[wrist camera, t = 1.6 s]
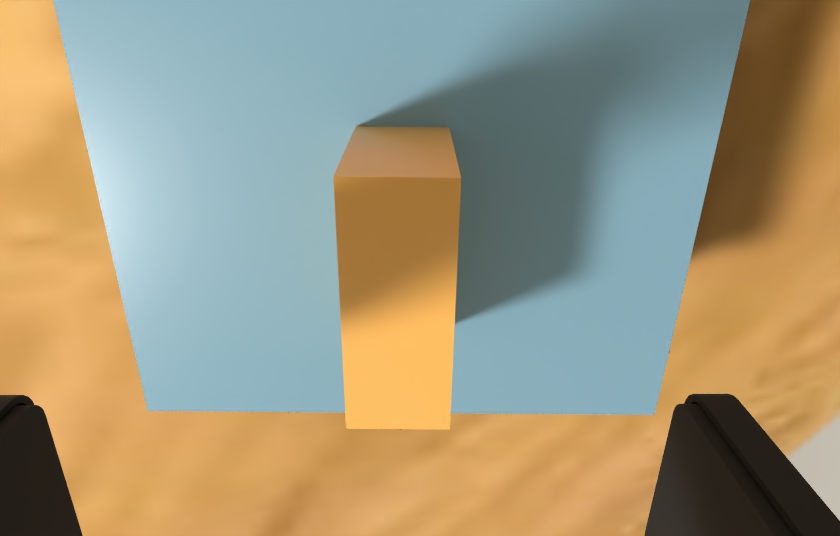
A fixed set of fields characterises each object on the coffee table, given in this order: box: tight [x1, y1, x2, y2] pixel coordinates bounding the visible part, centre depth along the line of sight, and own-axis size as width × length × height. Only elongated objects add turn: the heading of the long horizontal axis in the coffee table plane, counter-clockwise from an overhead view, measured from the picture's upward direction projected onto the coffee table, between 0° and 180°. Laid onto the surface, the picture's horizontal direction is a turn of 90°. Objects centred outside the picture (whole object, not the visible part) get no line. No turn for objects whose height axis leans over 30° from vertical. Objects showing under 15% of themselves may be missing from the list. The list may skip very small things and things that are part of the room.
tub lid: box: [53, 0, 750, 429], centre depth 15 cm, size 16×12×6 cm
